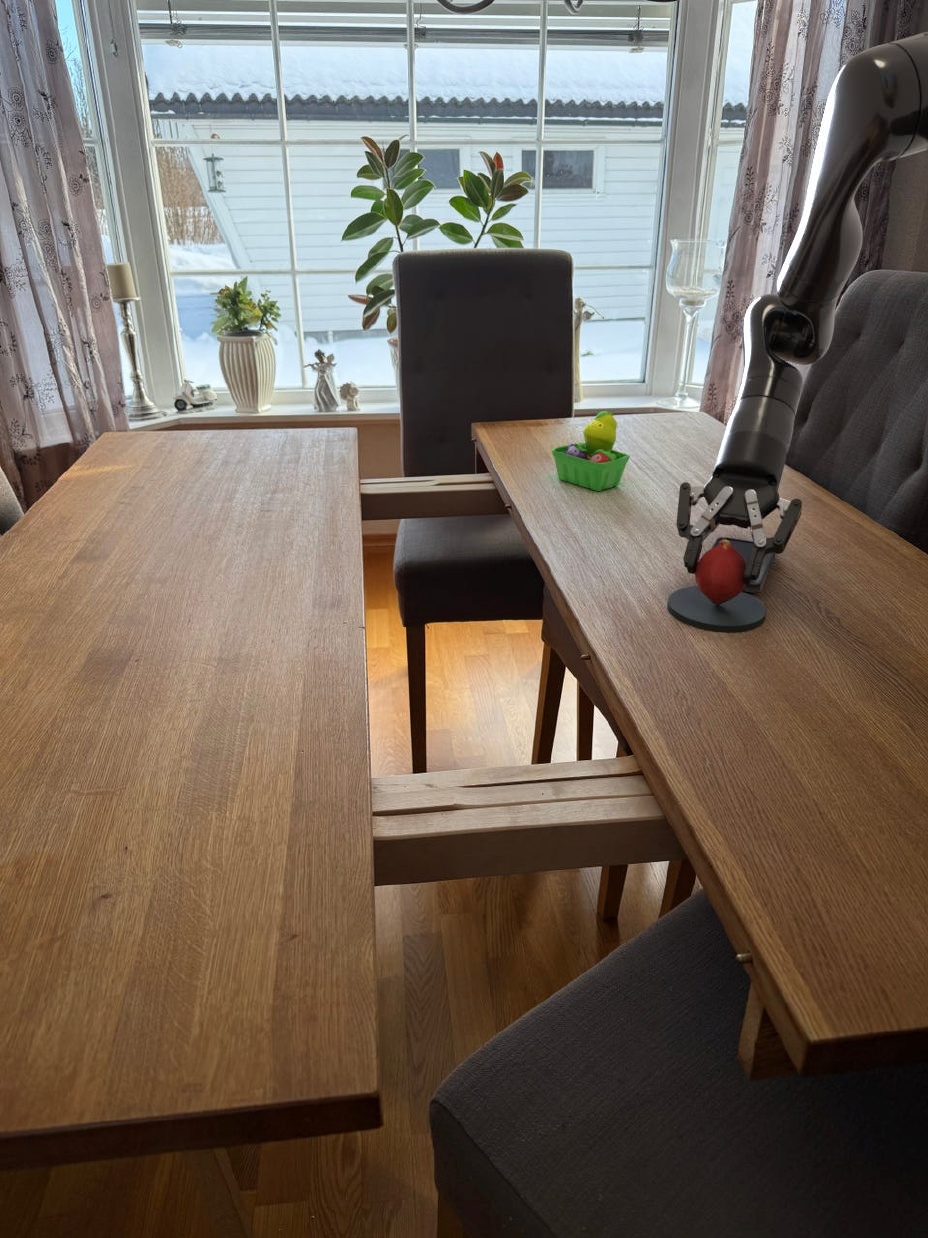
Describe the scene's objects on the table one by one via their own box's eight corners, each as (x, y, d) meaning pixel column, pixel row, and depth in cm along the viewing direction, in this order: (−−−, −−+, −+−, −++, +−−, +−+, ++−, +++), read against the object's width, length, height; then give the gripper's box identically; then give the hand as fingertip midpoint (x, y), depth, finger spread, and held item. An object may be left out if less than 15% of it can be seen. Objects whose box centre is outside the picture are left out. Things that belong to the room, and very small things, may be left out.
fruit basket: (547, 478, 148) (550, 411, 143) (583, 469, 153) (587, 403, 149) (598, 495, 141) (604, 424, 136) (634, 484, 146) (641, 416, 141)
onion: (699, 589, 106) (708, 526, 102) (748, 600, 103) (758, 535, 100) (684, 607, 101) (693, 542, 98) (735, 619, 99) (745, 552, 95)
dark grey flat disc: (763, 597, 106) (764, 591, 106) (767, 637, 96) (768, 631, 96) (669, 587, 108) (670, 581, 108) (664, 625, 99) (665, 618, 98)
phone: (777, 545, 118) (760, 585, 106) (776, 553, 119) (759, 594, 106) (717, 535, 121) (694, 573, 109) (716, 543, 122) (693, 582, 109)
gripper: (690, 421, 103) (651, 550, 98) (821, 436, 97) (785, 574, 93) (695, 454, 109) (659, 577, 105) (818, 471, 104) (784, 601, 99)
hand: (718, 575), depth 99 cm, fingers closed on onion, 5 cm apart
